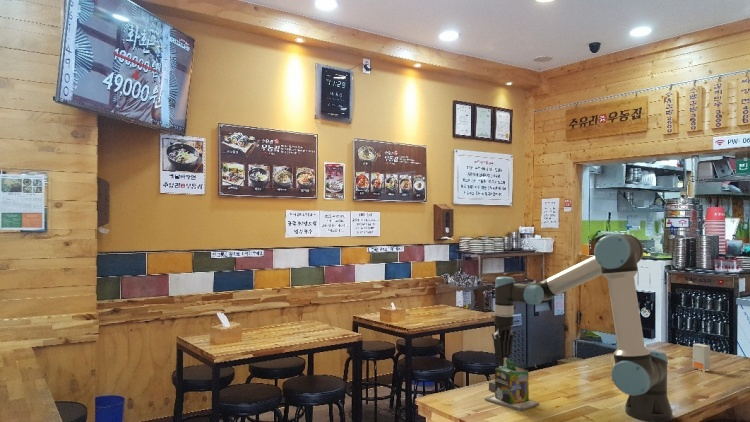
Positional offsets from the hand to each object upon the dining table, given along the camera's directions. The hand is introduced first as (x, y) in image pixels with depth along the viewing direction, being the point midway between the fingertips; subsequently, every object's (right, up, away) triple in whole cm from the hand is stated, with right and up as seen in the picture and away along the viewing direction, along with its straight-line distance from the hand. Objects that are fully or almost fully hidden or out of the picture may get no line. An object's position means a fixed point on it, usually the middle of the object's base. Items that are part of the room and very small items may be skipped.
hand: (502, 373), depth 224 cm
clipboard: (0, -6, -15) cm, 16 cm away
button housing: (0, -7, 0) cm, 7 cm away
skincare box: (+103, -10, +38) cm, 110 cm away
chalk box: (0, -6, -15) cm, 16 cm away
